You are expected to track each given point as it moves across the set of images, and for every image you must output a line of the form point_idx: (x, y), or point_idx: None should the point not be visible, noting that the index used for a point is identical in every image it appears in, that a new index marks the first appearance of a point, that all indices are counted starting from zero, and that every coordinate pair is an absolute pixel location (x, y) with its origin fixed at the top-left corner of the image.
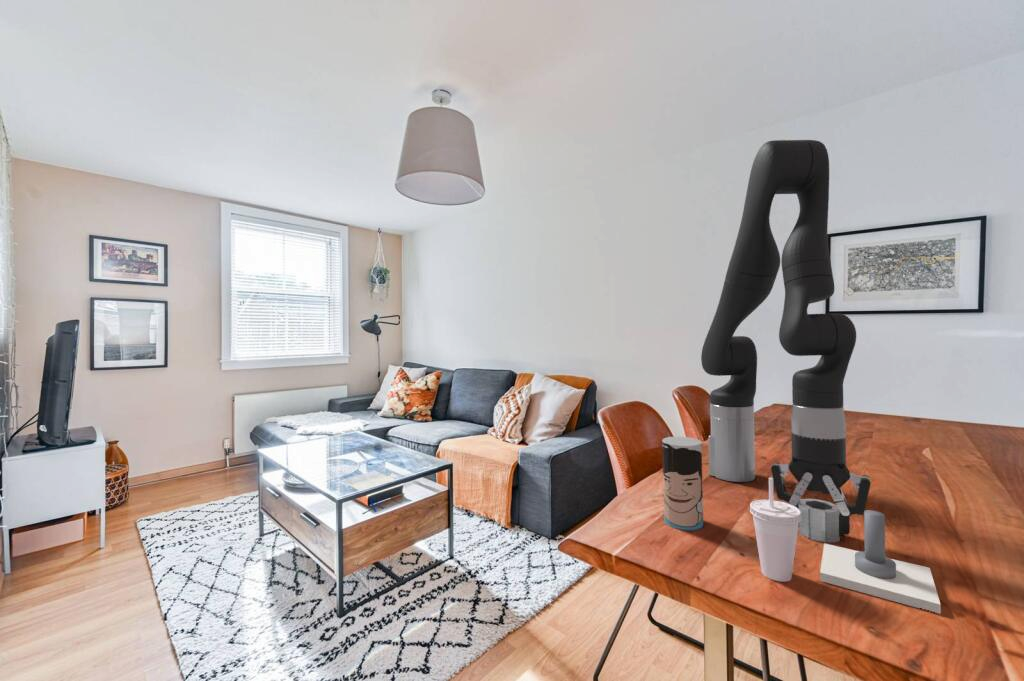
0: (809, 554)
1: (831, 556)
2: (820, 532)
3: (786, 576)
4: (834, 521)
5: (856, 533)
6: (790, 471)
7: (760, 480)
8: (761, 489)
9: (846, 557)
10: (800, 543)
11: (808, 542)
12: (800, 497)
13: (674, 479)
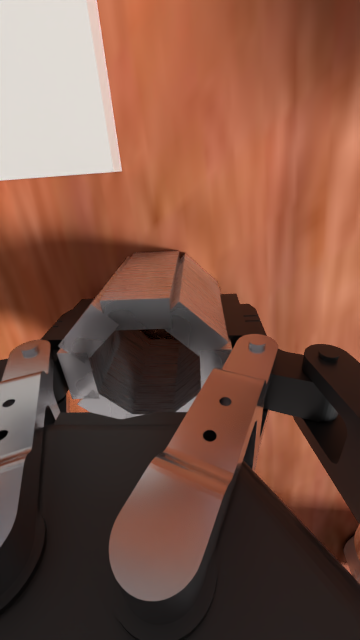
0: (160, 85)
1: (49, 8)
2: (142, 263)
3: None
4: (86, 309)
5: None
6: (355, 579)
7: (329, 543)
8: (329, 505)
9: (2, 57)
10: (205, 186)
11: (181, 217)
12: (224, 369)
13: None
